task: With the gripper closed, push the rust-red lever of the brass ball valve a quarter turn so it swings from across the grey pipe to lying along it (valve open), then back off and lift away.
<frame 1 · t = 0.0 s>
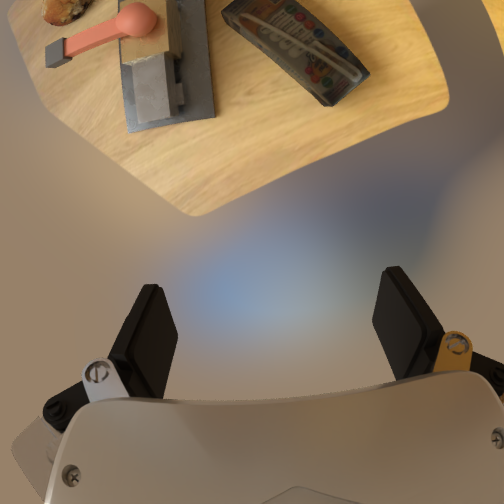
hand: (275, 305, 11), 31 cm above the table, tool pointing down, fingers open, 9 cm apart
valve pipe: (162, 37, 29), on the table
bread roll: (73, 3, 23), on the table
beverage carton: (292, 46, 31), on the table
lever: (95, 35, 21), point 10 cm above the table, hinge at 0.0°
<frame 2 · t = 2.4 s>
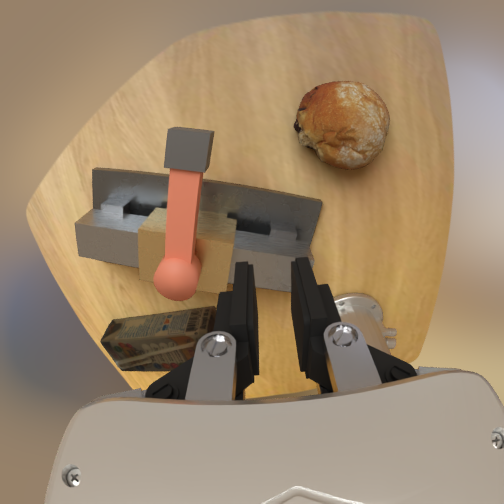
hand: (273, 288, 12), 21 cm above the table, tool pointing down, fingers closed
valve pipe: (196, 229, 34), on the table
bread roll: (337, 122, 28), on the table
beverage carton: (167, 328, 43), on the table
lever: (181, 220, 23), point 10 cm above the table, hinge at 0.0°
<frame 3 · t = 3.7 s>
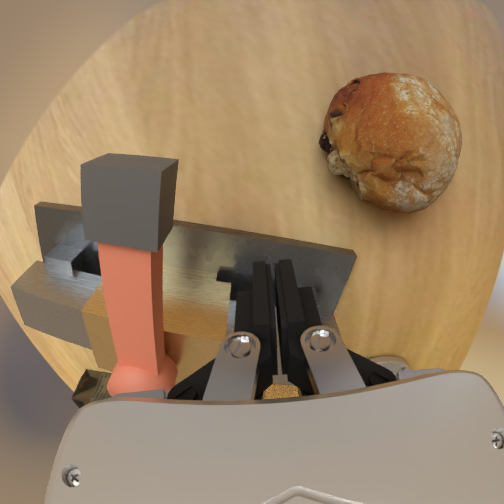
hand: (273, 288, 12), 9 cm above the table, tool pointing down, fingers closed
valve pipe: (175, 289, 24), on the table
bread roll: (382, 137, 18), on the table
beverage carton: (151, 389, 33), on the table
lever: (132, 319, 13), point 10 cm above the table, hinge at 0.0°
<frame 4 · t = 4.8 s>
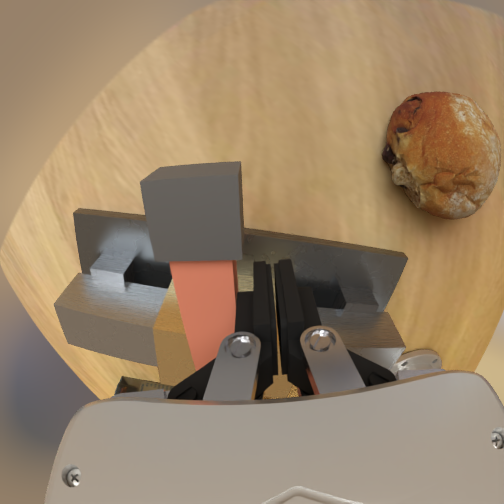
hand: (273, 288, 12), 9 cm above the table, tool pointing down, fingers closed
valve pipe: (233, 296, 24), on the table
bread roll: (430, 148, 18), on the table
beverage carton: (192, 397, 33), on the table
lever: (213, 334, 13), point 10 cm above the table, hinge at 10.5°, touching gripper
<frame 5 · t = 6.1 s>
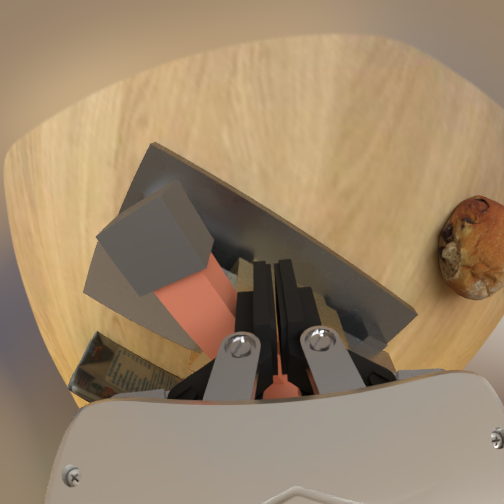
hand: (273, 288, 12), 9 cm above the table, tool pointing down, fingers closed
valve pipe: (268, 296, 24), on the table
bread roll: (467, 237, 21), on the table
beverage carton: (154, 379, 31), on the table
lever: (229, 343, 13), point 10 cm above the table, hinge at 59.5°, touching gripper
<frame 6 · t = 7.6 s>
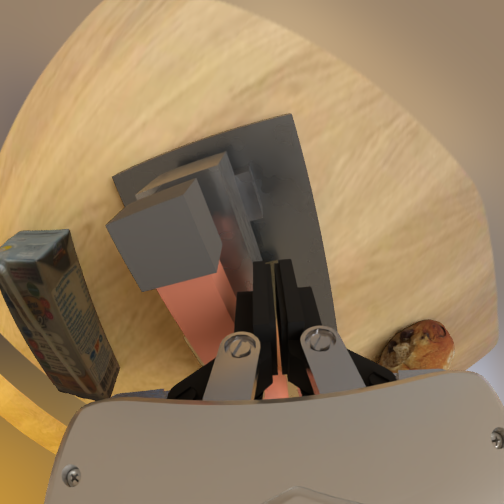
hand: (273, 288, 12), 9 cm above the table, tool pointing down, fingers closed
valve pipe: (255, 301, 24), on the table
bread roll: (410, 345, 28), on the table
beverage carton: (71, 304, 26), on the table
lever: (222, 346, 13), point 10 cm above the table, hinge at 90.8°
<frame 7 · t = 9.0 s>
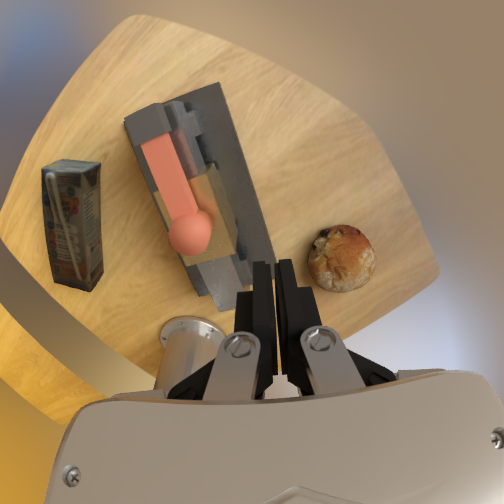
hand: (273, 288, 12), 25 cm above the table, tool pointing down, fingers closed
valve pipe: (206, 199, 36), on the table
bread roll: (337, 252, 41), on the table
beverage carton: (83, 217, 38), on the table
lever: (169, 181, 25), point 10 cm above the table, hinge at 90.8°
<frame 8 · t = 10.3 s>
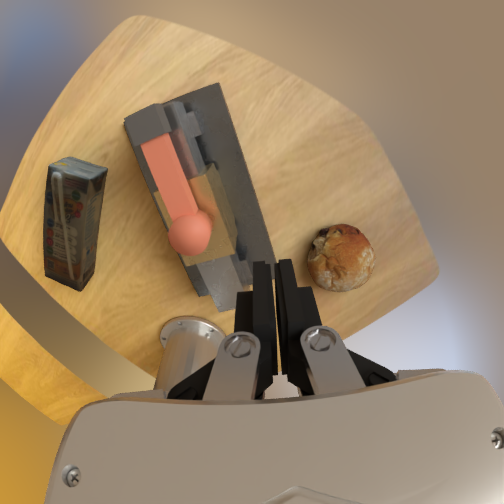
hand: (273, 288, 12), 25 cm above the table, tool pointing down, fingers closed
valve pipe: (205, 199, 36), on the table
bread roll: (337, 251, 41), on the table
beverage carton: (81, 217, 38), on the table
lever: (169, 181, 25), point 10 cm above the table, hinge at 90.8°
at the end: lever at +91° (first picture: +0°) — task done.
